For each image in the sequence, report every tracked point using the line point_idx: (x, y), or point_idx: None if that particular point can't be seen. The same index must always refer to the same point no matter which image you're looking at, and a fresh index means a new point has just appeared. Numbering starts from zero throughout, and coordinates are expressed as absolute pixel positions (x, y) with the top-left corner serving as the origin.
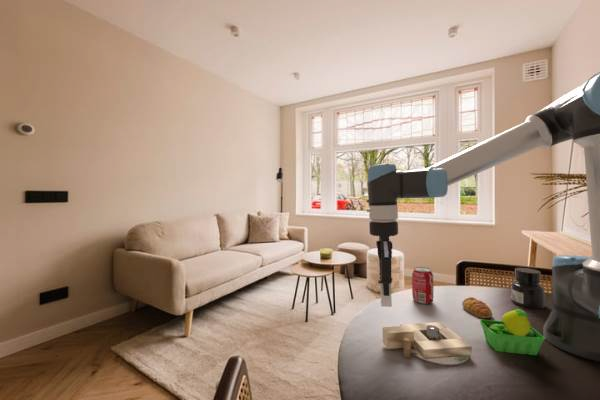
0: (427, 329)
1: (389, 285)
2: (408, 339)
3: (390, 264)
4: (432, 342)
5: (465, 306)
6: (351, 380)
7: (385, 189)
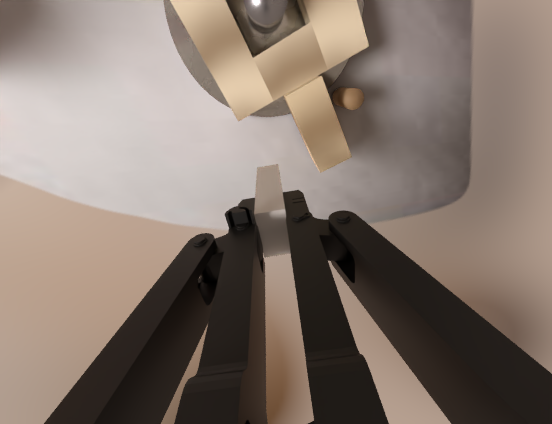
0: (276, 21)
1: (285, 209)
2: (351, 94)
3: (475, 317)
4: (320, 11)
5: None
6: (436, 197)
7: None
